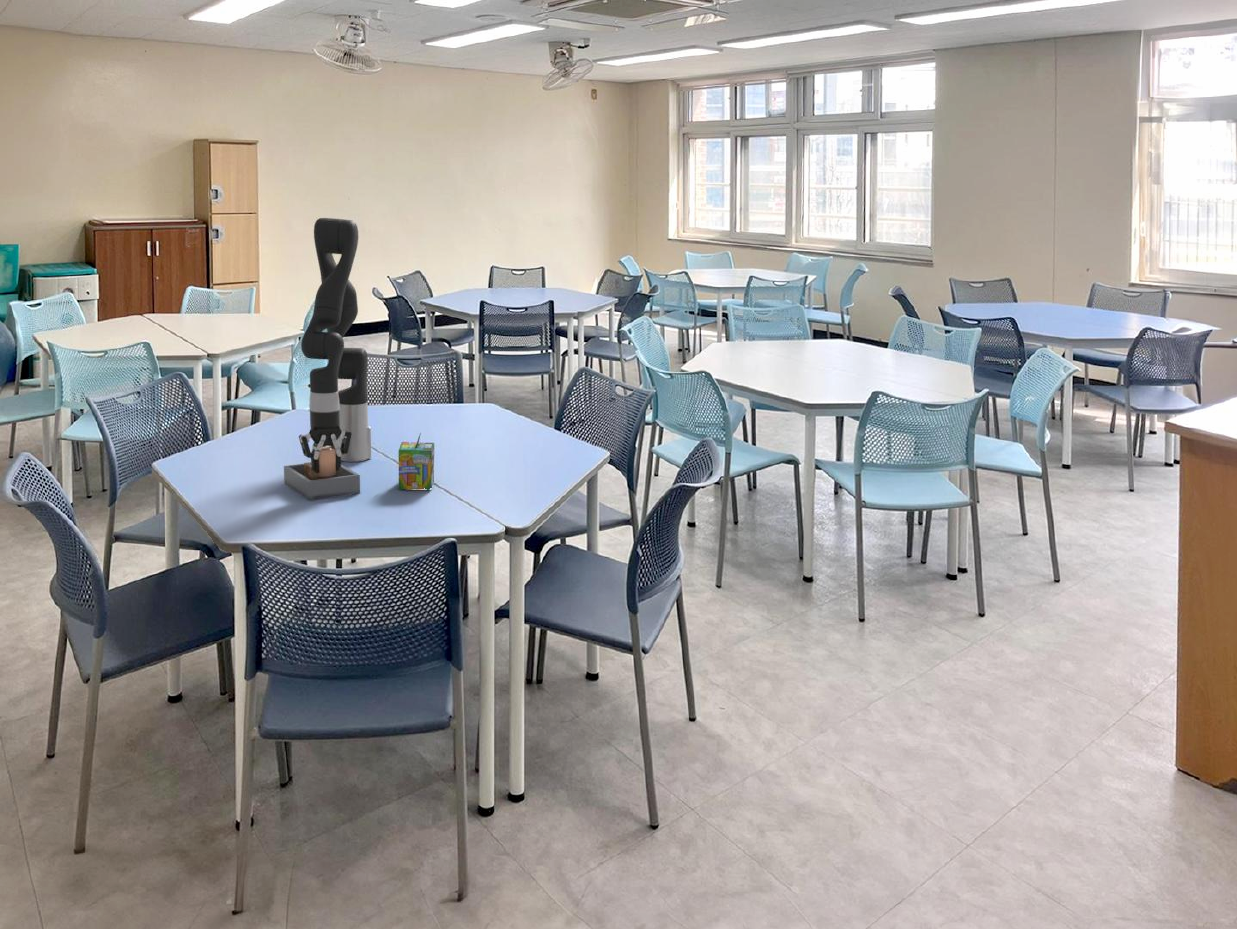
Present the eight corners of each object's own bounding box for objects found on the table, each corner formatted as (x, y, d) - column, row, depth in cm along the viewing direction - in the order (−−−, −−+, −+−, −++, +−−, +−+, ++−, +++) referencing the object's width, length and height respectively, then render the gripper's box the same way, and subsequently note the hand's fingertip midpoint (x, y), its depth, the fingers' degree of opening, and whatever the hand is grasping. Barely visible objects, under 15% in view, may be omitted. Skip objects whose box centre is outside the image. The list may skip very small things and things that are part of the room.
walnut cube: (329, 482, 289) (328, 464, 288) (311, 485, 286) (310, 467, 285) (322, 478, 293) (321, 460, 292) (304, 480, 290) (303, 463, 289)
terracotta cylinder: (339, 475, 282) (338, 449, 281) (321, 477, 279) (320, 451, 278) (331, 470, 286) (331, 445, 284) (313, 473, 283) (313, 447, 282)
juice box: (401, 481, 297) (400, 429, 293) (434, 482, 298) (434, 430, 294) (397, 490, 288) (396, 437, 284) (431, 491, 289) (431, 438, 285)
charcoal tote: (333, 477, 298) (333, 460, 297) (360, 493, 284) (359, 475, 283) (284, 483, 290) (283, 466, 288) (309, 500, 276) (308, 481, 275)
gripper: (303, 413, 271) (305, 477, 276) (356, 408, 280) (357, 471, 284) (292, 407, 277) (294, 471, 281) (344, 403, 286) (346, 464, 290)
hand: (326, 470), depth 283 cm, fingers closed on terracotta cylinder, 5 cm apart
